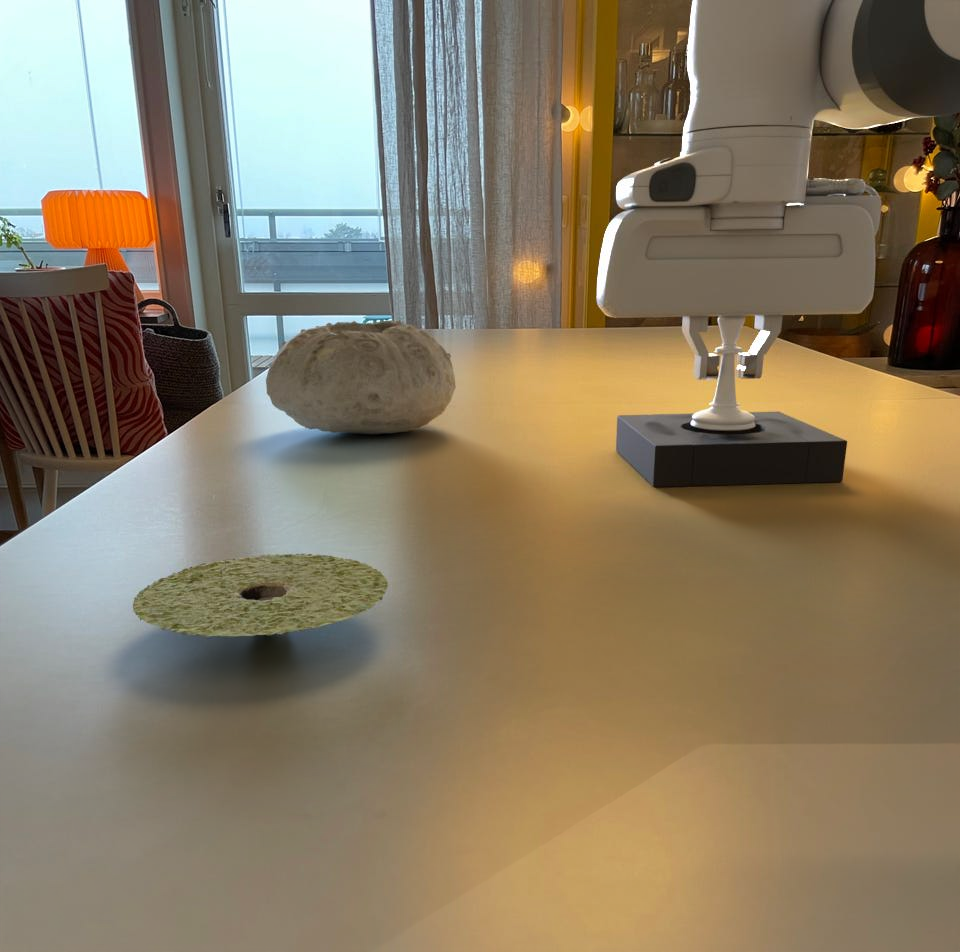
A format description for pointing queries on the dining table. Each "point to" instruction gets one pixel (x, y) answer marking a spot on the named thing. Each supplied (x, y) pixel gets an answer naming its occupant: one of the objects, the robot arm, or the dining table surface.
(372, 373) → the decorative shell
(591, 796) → the dining table surface
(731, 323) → the chess piece
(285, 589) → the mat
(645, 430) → the grey block with hole
